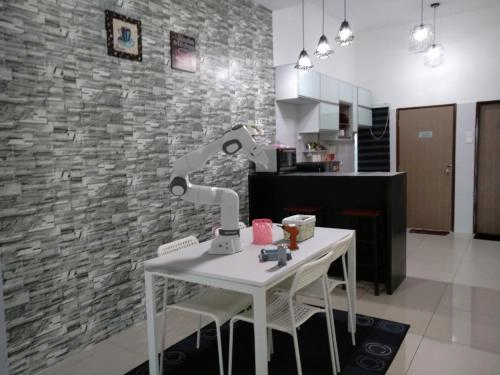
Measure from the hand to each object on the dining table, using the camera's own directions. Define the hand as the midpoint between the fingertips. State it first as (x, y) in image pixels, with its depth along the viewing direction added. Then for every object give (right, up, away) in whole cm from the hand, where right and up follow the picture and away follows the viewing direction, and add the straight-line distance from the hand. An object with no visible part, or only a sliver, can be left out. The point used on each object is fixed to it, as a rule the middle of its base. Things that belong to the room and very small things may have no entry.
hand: (263, 166), depth 228 cm
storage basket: (+27, -48, +45) cm, 71 cm away
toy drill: (+16, -51, +18) cm, 56 cm away
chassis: (+7, -53, -3) cm, 53 cm away
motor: (+10, -54, -19) cm, 58 cm away
